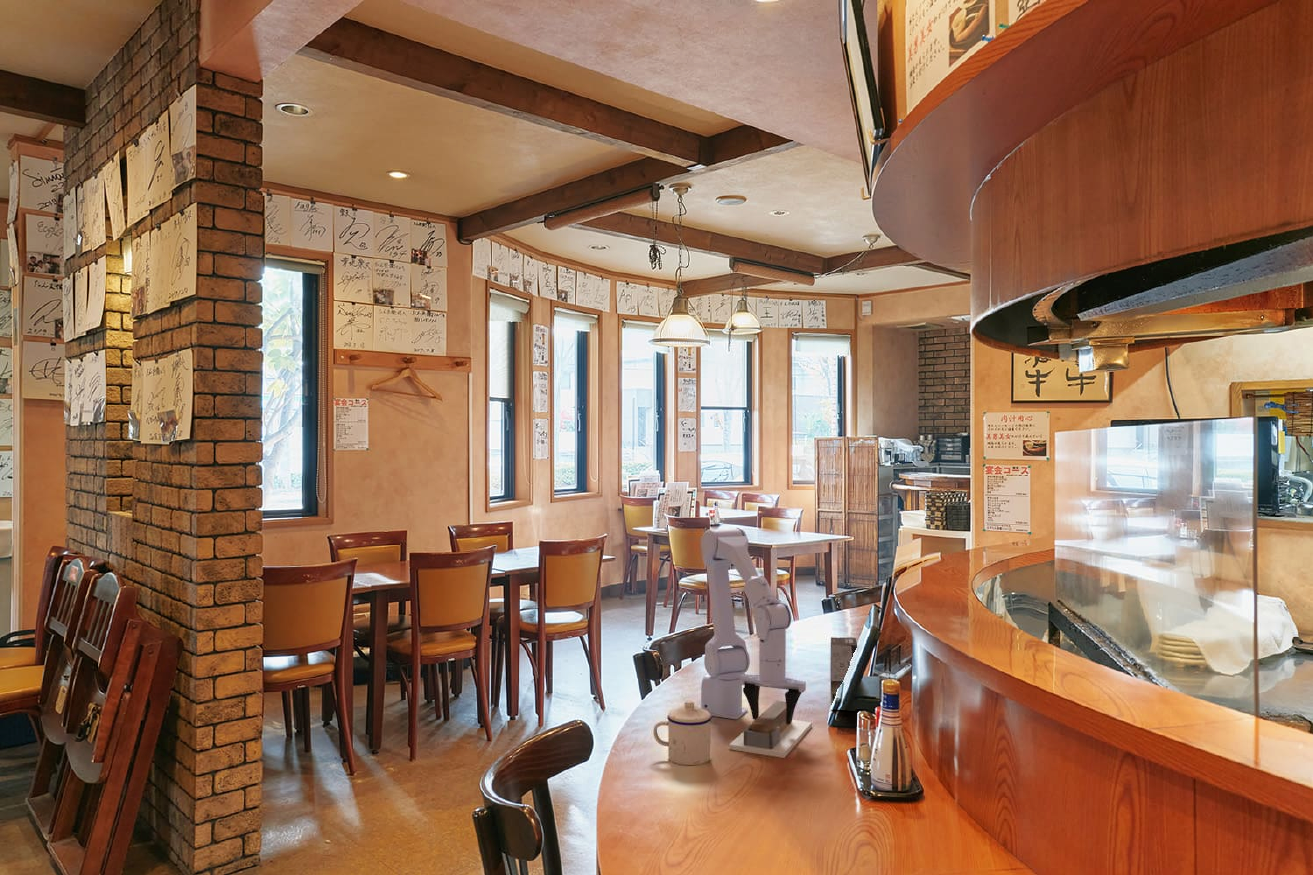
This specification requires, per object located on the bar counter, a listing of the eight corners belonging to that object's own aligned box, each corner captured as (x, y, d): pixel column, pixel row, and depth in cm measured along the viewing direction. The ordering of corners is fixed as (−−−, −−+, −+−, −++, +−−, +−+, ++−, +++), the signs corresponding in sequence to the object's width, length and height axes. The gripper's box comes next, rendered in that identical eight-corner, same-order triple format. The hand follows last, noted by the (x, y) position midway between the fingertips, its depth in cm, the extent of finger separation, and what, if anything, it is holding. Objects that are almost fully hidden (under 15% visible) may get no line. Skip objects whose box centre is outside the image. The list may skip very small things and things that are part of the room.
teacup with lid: (713, 751, 185) (713, 696, 185) (709, 767, 176) (709, 709, 176) (656, 748, 187) (656, 693, 187) (650, 764, 178) (650, 706, 178)
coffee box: (857, 712, 212) (857, 645, 213) (830, 710, 214) (830, 644, 214) (856, 701, 221) (856, 637, 221) (830, 699, 223) (830, 635, 223)
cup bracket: (729, 749, 187) (729, 730, 187) (761, 719, 207) (761, 702, 207) (784, 757, 182) (784, 738, 182) (811, 726, 202) (811, 709, 202)
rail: (751, 744, 187) (751, 722, 187) (776, 720, 203) (776, 700, 203) (767, 746, 185) (767, 725, 185) (791, 722, 202) (791, 702, 202)
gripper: (735, 659, 194) (734, 721, 194) (799, 666, 188) (799, 730, 187) (745, 652, 200) (745, 712, 200) (808, 659, 194) (808, 720, 194)
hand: (772, 720), depth 194 cm, fingers open, 7 cm apart
